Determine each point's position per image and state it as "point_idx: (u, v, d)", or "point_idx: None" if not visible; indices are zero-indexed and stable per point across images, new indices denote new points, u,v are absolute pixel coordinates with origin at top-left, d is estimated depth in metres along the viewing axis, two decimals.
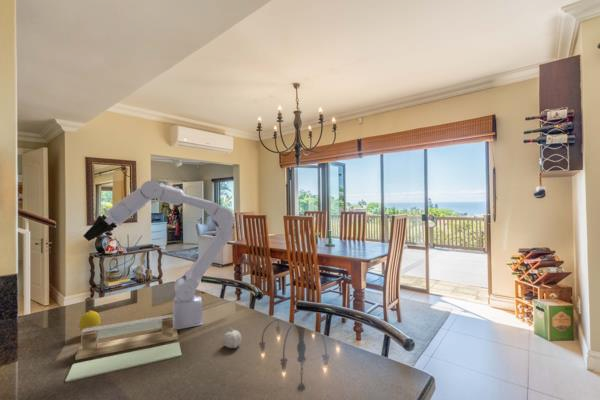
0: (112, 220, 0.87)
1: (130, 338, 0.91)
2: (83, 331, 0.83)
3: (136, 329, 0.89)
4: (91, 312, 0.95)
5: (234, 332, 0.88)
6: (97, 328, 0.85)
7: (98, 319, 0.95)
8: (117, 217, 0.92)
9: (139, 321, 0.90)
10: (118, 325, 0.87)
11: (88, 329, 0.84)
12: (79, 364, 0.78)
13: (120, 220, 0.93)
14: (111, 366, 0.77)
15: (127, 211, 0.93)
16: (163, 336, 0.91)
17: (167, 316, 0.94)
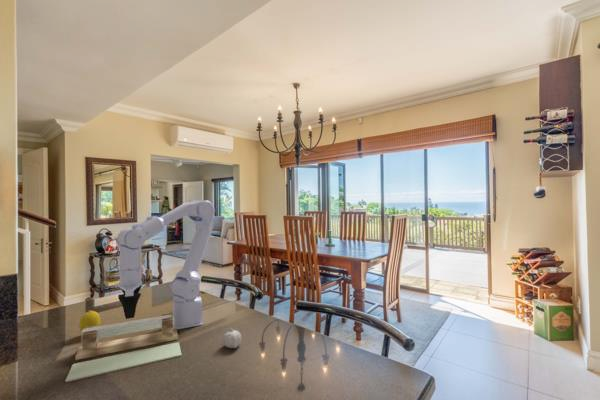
0: (131, 290, 0.83)
1: (130, 338, 0.91)
2: (83, 331, 0.83)
3: (136, 329, 0.89)
4: (91, 312, 0.95)
5: (234, 332, 0.88)
6: (97, 328, 0.85)
7: (98, 319, 0.95)
8: (132, 282, 0.87)
9: (139, 321, 0.90)
10: (118, 325, 0.87)
11: (88, 329, 0.84)
12: (79, 364, 0.78)
13: (137, 282, 0.88)
14: (111, 366, 0.77)
15: (134, 271, 0.87)
16: (163, 336, 0.91)
17: (167, 316, 0.94)
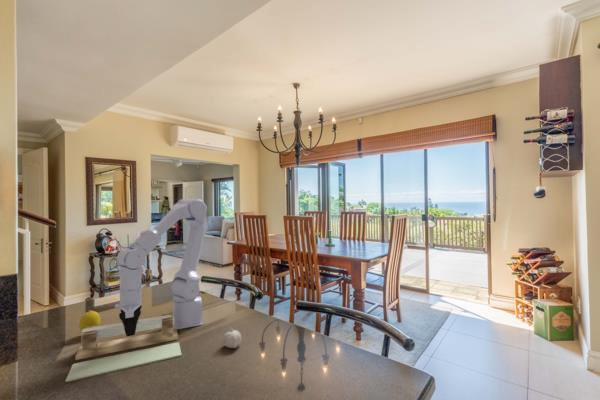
0: (131, 312, 0.83)
1: (130, 338, 0.91)
2: (83, 331, 0.83)
3: (136, 329, 0.89)
4: (91, 312, 0.95)
5: (234, 332, 0.88)
6: (97, 328, 0.85)
7: (98, 319, 0.95)
8: (132, 303, 0.87)
9: (139, 321, 0.90)
10: (118, 325, 0.87)
11: (88, 329, 0.84)
12: (79, 364, 0.78)
13: (137, 302, 0.88)
14: (111, 366, 0.77)
15: (134, 291, 0.87)
16: (163, 336, 0.91)
17: (167, 316, 0.94)
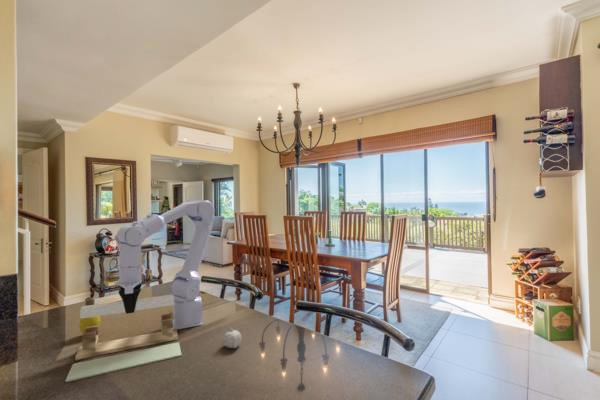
0: (131, 288, 0.82)
1: (130, 338, 0.91)
2: (82, 308, 0.82)
3: (136, 308, 0.88)
4: None
5: (234, 332, 0.88)
6: (96, 305, 0.84)
7: (98, 319, 0.95)
8: (132, 280, 0.86)
9: (139, 300, 0.89)
10: (118, 303, 0.86)
11: (87, 306, 0.84)
12: (79, 364, 0.78)
13: (137, 279, 0.87)
14: (111, 366, 0.77)
15: (134, 268, 0.86)
16: (163, 336, 0.91)
17: (167, 296, 0.93)
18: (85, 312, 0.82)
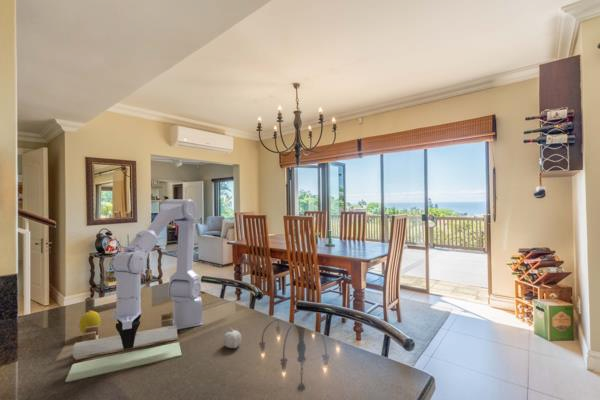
0: (129, 322, 0.74)
1: None
2: (75, 346, 0.74)
3: (135, 343, 0.80)
4: (91, 312, 0.95)
5: (234, 332, 0.88)
6: (91, 342, 0.76)
7: (98, 319, 0.95)
8: (131, 312, 0.78)
9: (138, 333, 0.81)
10: (115, 338, 0.78)
11: (81, 343, 0.75)
12: (79, 364, 0.78)
13: (136, 310, 0.79)
14: (111, 366, 0.77)
15: (132, 299, 0.78)
16: None
17: (169, 327, 0.85)
18: (78, 350, 0.74)
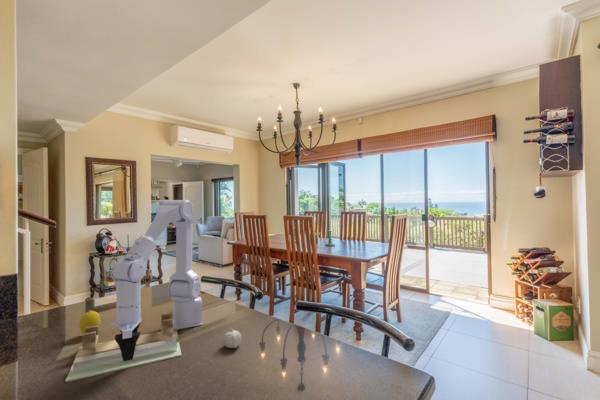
0: (129, 332, 0.74)
1: None
2: (75, 361, 0.74)
3: (135, 357, 0.80)
4: (91, 312, 0.95)
5: (234, 332, 0.88)
6: (91, 357, 0.76)
7: (98, 319, 0.95)
8: (131, 321, 0.78)
9: (138, 348, 0.81)
10: (115, 353, 0.78)
11: (81, 358, 0.75)
12: None
13: (136, 319, 0.79)
14: (111, 366, 0.77)
15: (132, 308, 0.78)
16: (163, 336, 0.91)
17: (169, 341, 0.85)
18: (78, 366, 0.74)
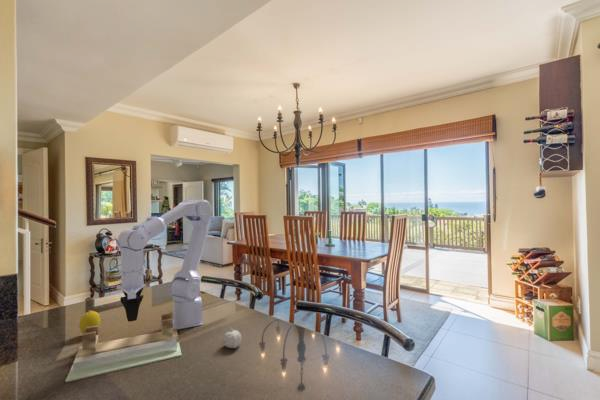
0: (133, 293, 0.81)
1: (130, 338, 0.91)
2: (75, 361, 0.74)
3: (135, 357, 0.80)
4: (91, 312, 0.95)
5: (234, 332, 0.88)
6: (91, 357, 0.76)
7: (98, 319, 0.95)
8: (134, 285, 0.85)
9: (138, 348, 0.81)
10: (115, 353, 0.78)
11: (81, 358, 0.75)
12: None
13: (139, 284, 0.86)
14: (111, 366, 0.77)
15: (136, 273, 0.85)
16: (163, 336, 0.91)
17: (169, 341, 0.85)
18: (78, 366, 0.74)
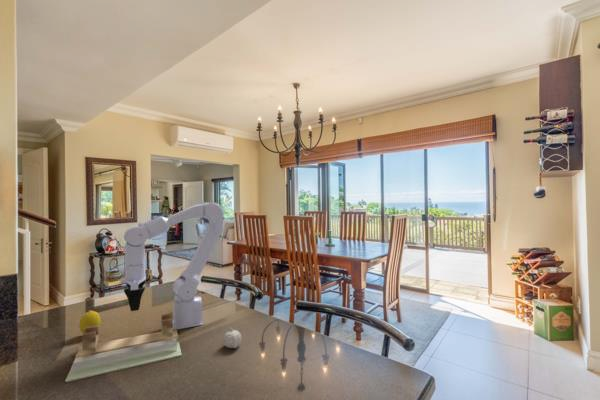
0: (136, 284, 0.89)
1: (130, 338, 0.91)
2: (75, 361, 0.74)
3: (135, 357, 0.80)
4: (91, 312, 0.95)
5: (234, 332, 0.88)
6: (91, 357, 0.76)
7: (98, 319, 0.95)
8: (137, 277, 0.93)
9: (138, 348, 0.81)
10: (115, 353, 0.78)
11: (81, 358, 0.75)
12: None
13: (141, 276, 0.94)
14: (111, 366, 0.77)
15: (138, 267, 0.93)
16: (163, 336, 0.91)
17: (169, 341, 0.85)
18: (78, 366, 0.74)
